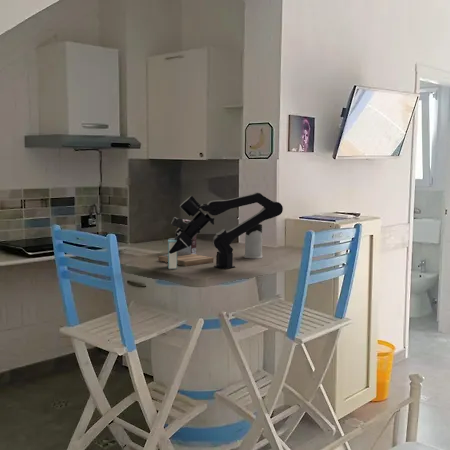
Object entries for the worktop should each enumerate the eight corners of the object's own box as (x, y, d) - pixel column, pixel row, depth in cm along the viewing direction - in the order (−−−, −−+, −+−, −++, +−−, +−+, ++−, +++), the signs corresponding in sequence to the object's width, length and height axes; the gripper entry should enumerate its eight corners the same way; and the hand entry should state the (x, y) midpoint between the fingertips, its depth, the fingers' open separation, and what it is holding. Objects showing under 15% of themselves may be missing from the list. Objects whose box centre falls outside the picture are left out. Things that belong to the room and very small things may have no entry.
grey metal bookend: (191, 254, 265) (191, 236, 265) (170, 257, 257) (170, 238, 256) (184, 253, 269) (184, 235, 268) (163, 255, 261) (163, 237, 260)
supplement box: (175, 253, 282) (176, 220, 280) (181, 252, 286) (181, 219, 284) (191, 255, 277) (191, 221, 276) (196, 253, 282) (197, 220, 280)
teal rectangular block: (176, 266, 247) (176, 239, 246) (177, 268, 241) (177, 241, 240) (167, 266, 247) (168, 239, 246) (168, 269, 240) (168, 241, 239)
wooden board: (213, 262, 258) (213, 257, 258) (185, 266, 247) (185, 261, 247) (186, 257, 271) (186, 252, 271) (158, 260, 260) (158, 256, 260)
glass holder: (247, 258, 270) (248, 225, 268) (237, 254, 283) (237, 222, 282) (265, 258, 273) (266, 225, 271) (254, 253, 286) (254, 222, 284)
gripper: (181, 208, 251) (154, 234, 251) (184, 212, 233) (155, 240, 232) (199, 227, 253) (173, 253, 252) (204, 232, 234) (175, 260, 234)
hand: (169, 251), depth 243 cm, fingers open, 9 cm apart
